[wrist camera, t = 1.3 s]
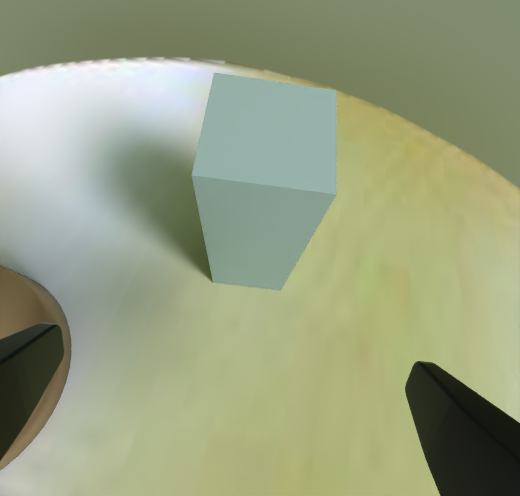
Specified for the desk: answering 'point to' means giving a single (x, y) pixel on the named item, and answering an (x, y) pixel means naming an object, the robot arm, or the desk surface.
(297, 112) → the pale green tall block
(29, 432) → the walnut stand
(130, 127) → the desk surface
